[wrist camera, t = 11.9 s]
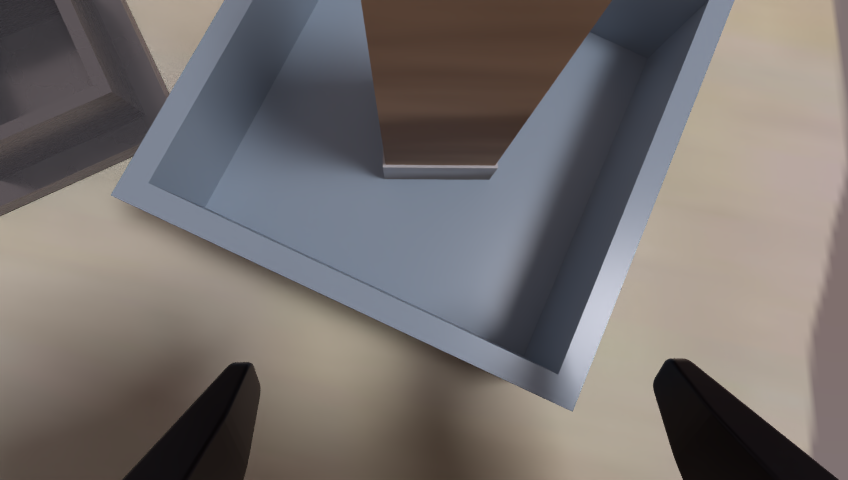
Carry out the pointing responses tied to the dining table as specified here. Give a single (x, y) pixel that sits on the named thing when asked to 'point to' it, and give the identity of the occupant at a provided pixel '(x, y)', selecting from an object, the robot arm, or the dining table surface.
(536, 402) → the dining table surface
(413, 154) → the strut
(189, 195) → the bin
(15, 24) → the socket block
